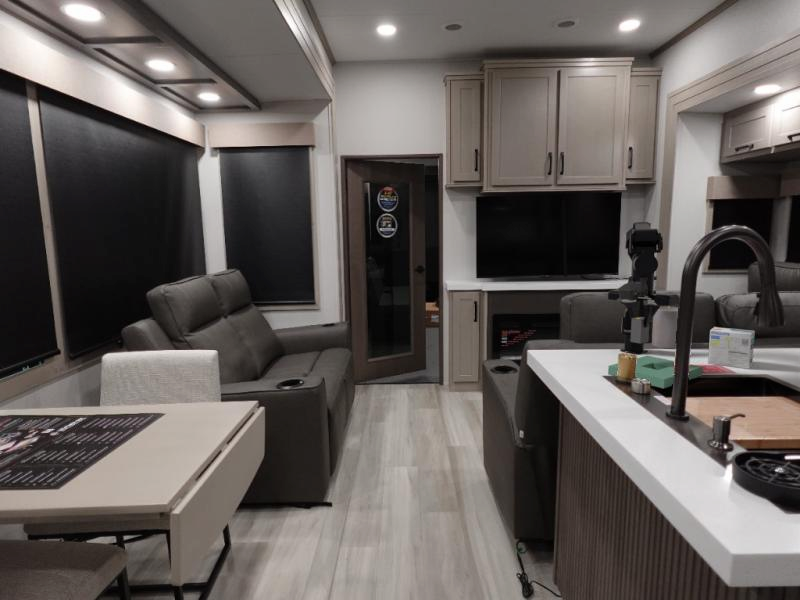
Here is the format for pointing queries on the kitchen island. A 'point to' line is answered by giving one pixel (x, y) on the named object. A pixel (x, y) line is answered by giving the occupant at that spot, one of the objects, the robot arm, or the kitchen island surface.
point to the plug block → (639, 330)
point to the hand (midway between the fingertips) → (640, 326)
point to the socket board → (657, 370)
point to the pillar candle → (665, 327)
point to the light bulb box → (731, 347)
